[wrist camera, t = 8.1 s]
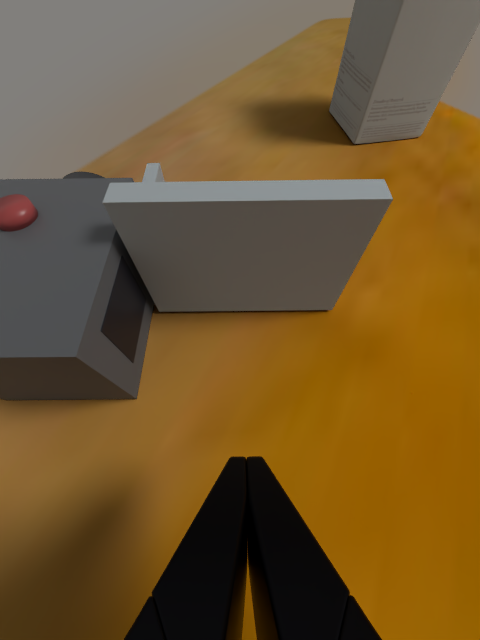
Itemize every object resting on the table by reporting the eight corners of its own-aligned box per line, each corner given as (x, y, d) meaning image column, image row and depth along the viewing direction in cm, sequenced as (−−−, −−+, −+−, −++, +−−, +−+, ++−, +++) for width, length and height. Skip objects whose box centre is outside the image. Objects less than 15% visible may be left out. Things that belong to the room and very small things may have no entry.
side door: (332, 309, 17) (392, 198, 10) (157, 311, 17) (99, 202, 10) (316, 235, 20) (354, 113, 13) (170, 237, 20) (132, 116, 13)
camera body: (137, 399, 14) (66, 349, 9) (6, 400, 14) (-152, 352, 9) (166, 239, 20) (135, 146, 14) (72, 240, 20) (5, 148, 14)
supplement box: (422, 138, 27) (546, -93, 16) (351, 146, 26) (430, -89, 15) (389, 104, 30) (472, -104, 19) (326, 110, 30) (375, -100, 19)
